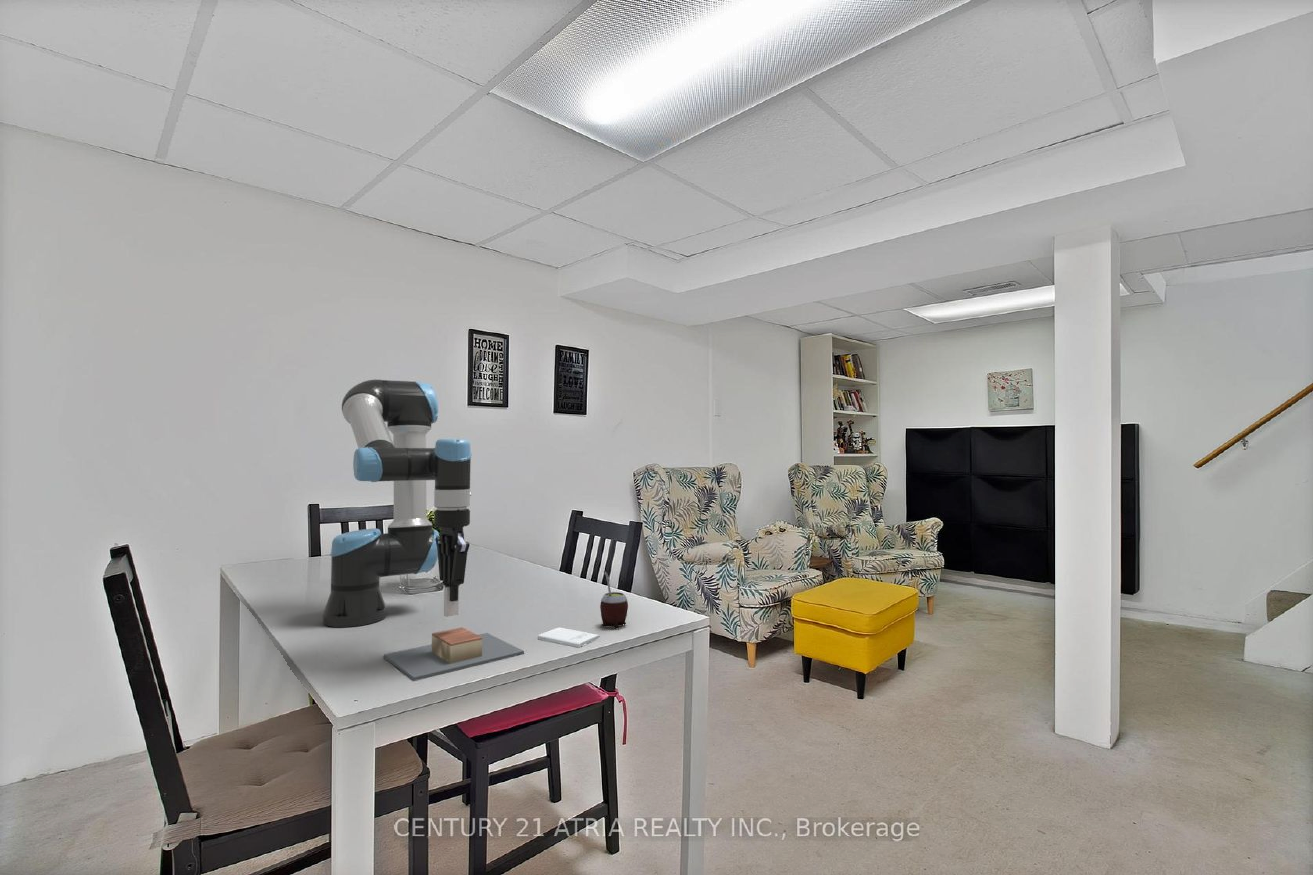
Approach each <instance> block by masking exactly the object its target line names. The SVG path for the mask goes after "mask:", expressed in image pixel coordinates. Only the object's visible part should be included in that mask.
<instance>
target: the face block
mask: <svg viewBox="0 0 1313 875" xmlns="http://www.w3.org/2000/svg"><path fill="white" fill-rule="evenodd" d="M431 644H432V652H433V653H435V654H436V655H438V656H439V657H441V658H442V659H444V660H446V661H447V662H449V663H450V664H451V663H455V662H459V661H463V660H468V659H472V658H476V657H481V656H482V637H480V636H479V634H476V633H475V632H473V631H471V630H468V629H467V628H465V627H457V628H452V629H448V630H443V631H438V632H432V633H431Z"/></svg>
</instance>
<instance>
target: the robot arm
mask: <svg viewBox="0 0 1313 875" xmlns="http://www.w3.org/2000/svg"><path fill="white" fill-rule="evenodd" d="M341 413H342V416H343V418H344V420H345V421H346V422H347V423H348V424H350V427H351V429H352V433H353V436H354V438H355V441H356V445H357V448H356V449H355V450H354V452H353V463H352V464H353V465H352V467H353V468H352V470H353V476H354V479H355V480H357V481H359V482H372V483H377V482H393V519H392V521H391V523H389V524H388V525H387V532H386V533H382V531H381V530H380V529H379V528H364V529H358V530H351V531H348V532H344V533H342V534H339V535H336V536H335V537H334V538H333V539H332V541H331V550H330V557H331V558H330V559H331V562H330V563H331V564H330V571H331V572H330V593H329V597H328V599H327V602H326V604H325V607H324V609H323V614H322V624H323V625H324V626H328V627H333V628H334V627H335V628H346V627H347V628H348V627H350V628H351V627H357V626H365V625H369V624H373V623H377V622H380V621H382V620H384V619H385V618H386V617H387V606H386V603H385V600H384V597H383V595H382V592H381V591H382V590H381V589H380V580H381V579H380V578H384V577H395V576H404V575H417V574H421V573H428V572H430V571H432V570H433V569H434V568H435V566H436V563H438V574H439V581H441V582H442V584H443V616H444V617H453V616H459V614H460V613H459V608H460V607H459V604H460V602H459V600H460V599H459V597H460V596H459V594H460V593H459V592H460V589H459V588H460V585H463V584H464V583H465V576H466V568H467V567H466V566H467V558H468V552H469V548H470V542H469V541H465V533H464V527H468V526H469V525H470V524H471V510H470V508H468V507H470V505H471V504H470V503H471V502H470V501H471V496H472V492H471V465H472V464H471V459H472V453H471V442H470V441H469V440H468V439H465V438H464V439H463V438H461V439H458V438H445V439H444V438H440V439H437V440H436V441H435V445H434V447H431V448H430V447H427V434H428V433H429V431H431V430H432V425H433V424H436V422H437V421H438V417H439V416H438V415H439V414H438V413H439V402H438V398H437V394H436V391H435V388H433V386H432V385H431V384H429V383H427V382H420V381H419V382H418V381H408V380H407V381H406V380H390V379H389V380H385V379H368V380H364V381H362V382H359V383H358V384H356V385H354V386H353V387H351V388H350V389H349V390H348V391H347V392H346V393H345V395H344V396H343V399H342V403H341ZM386 423H387V425H386ZM389 431H390V432H389ZM390 433H391V434H392V435H393V439H392V436H391V434H390ZM427 481H434V490H433V492H434V493H433V494H434V496H433V498H434V500H433V503H434V504H433V506H434V508H436V509H435V510H434V513H433V514H434V517H433V519H434V521H433V522H434V526H435V527H437V528H440V534H439V531H438V530H437V529H434V528H433V523H432V522H431V521H430V520H429V519H428V518H427V516H428V514H427V510H428V509H427ZM437 561H438V562H437Z"/></svg>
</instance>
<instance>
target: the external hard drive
mask: <svg viewBox="0 0 1313 875" xmlns="http://www.w3.org/2000/svg"><path fill="white" fill-rule="evenodd" d="M599 637H600V638H601V635H600V634H596V633H590V632H585V631H581V630H575V629H570V628H564V627H559V626H558V627H555V628H552V629H550V630H549V631H545V632H542V633H540V634H538V635H537V640H539V639H540V641H544V642H549V641H552V642H551V643H554V642H555V643H554V644H559V643H560V645H564V644H568V645H567V646H569V645H571V646H570V647H573V646H575V648H578V647H579V649H581V648H582V647H584V646H585V645H584V644H587V643H588V644H590V643H592V642H591V641H593V642H595V641H597V640H596V639H598V638H599ZM594 640H595V641H594ZM598 640H599V639H598ZM556 642H557V643H556ZM589 642H590V643H589ZM588 644H587V645H588ZM583 645H584V646H583ZM581 646H582V647H581Z"/></svg>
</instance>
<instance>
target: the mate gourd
mask: <svg viewBox="0 0 1313 875" xmlns="http://www.w3.org/2000/svg"><path fill="white" fill-rule="evenodd" d="M603 574H604V575H605V577H606V578H605V579H606V584H607V589H608V592H607V593H606V592H605V593H604V595H603V596H602V597H601V600H600V606H599V608H600V617H601V621H602V624H601V627H602V626H603V627H602V628H607V627H606V626H611V627H613V626H614V627H615V628H620V626H618V625H621V626H624V625H623V624H626V625H627V622H626V619H627V616H628V610H629V609H628V608H629V603H628V597H627V596H626V594H624V593H623V592H617V591H615V592H614V591H612V590H611V584H610V576H609V575H608V573H607V572H606V570H603ZM611 591H612V592H611ZM614 627H613V628H614ZM615 628H614V629H615Z"/></svg>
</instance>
